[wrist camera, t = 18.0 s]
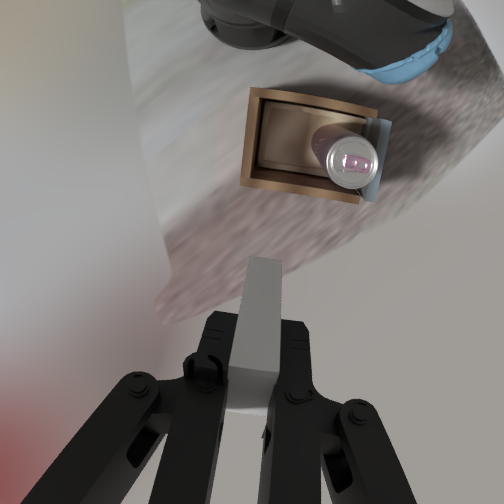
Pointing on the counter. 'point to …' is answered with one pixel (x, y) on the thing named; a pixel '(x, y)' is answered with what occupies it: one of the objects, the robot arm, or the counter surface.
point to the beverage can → (345, 156)
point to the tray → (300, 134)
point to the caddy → (284, 178)
